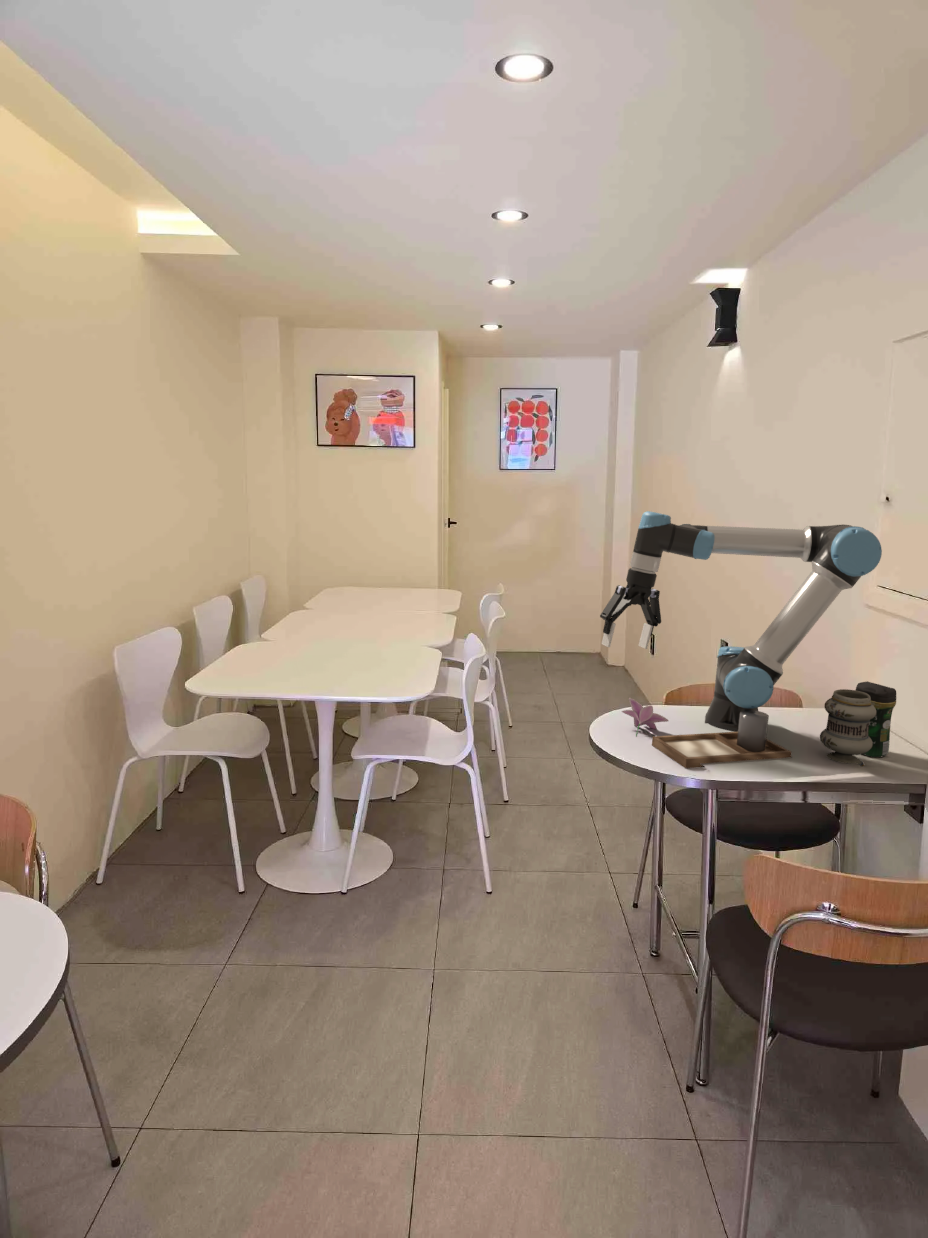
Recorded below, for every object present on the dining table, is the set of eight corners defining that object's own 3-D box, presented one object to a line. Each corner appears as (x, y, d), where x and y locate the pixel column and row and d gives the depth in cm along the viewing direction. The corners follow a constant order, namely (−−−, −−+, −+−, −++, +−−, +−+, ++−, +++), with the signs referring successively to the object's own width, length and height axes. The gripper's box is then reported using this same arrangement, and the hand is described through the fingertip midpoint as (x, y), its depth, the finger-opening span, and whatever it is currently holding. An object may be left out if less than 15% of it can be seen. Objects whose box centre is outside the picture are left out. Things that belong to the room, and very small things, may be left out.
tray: (750, 739, 217) (751, 730, 216) (790, 761, 201) (791, 751, 201) (651, 745, 209) (652, 736, 208) (685, 768, 193) (686, 759, 193)
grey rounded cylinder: (753, 742, 211) (757, 709, 210) (770, 751, 205) (774, 717, 203) (730, 743, 210) (734, 710, 208) (747, 752, 203) (750, 718, 201)
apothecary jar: (818, 765, 199) (827, 696, 195) (815, 750, 210) (824, 684, 207) (872, 773, 195) (882, 702, 191) (866, 757, 206) (875, 690, 203)
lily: (670, 744, 214) (676, 709, 216) (638, 731, 208) (644, 696, 211) (639, 743, 224) (645, 711, 227) (608, 732, 219) (614, 698, 221)
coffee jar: (841, 748, 212) (850, 681, 209) (858, 744, 217) (867, 678, 213) (876, 760, 204) (886, 690, 201) (893, 755, 209) (903, 687, 205)
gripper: (666, 570, 221) (648, 643, 225) (598, 562, 208) (580, 640, 212) (686, 577, 215) (667, 652, 219) (617, 569, 202) (598, 649, 206)
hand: (624, 646), depth 216 cm, fingers open, 13 cm apart
